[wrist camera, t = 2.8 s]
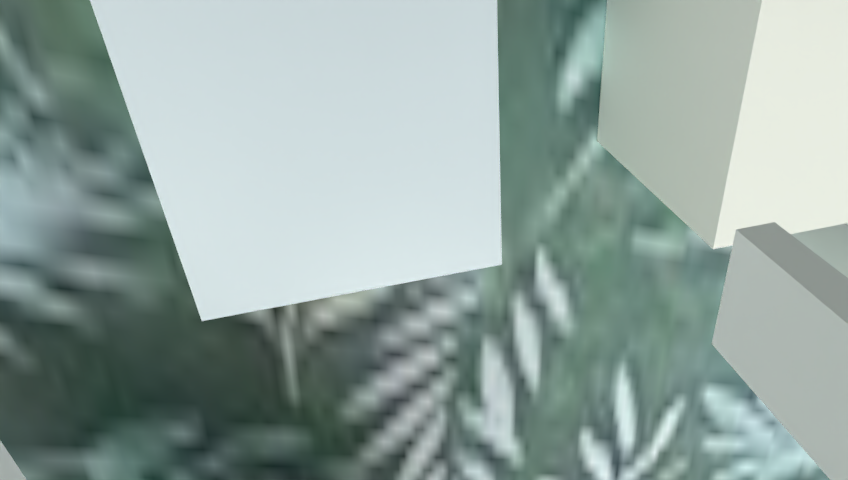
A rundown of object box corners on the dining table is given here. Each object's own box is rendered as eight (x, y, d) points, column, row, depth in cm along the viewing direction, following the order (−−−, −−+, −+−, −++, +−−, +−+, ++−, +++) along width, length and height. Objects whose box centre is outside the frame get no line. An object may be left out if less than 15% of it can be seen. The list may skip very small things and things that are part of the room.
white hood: (597, 140, 32) (713, 249, 24) (612, -84, 26) (771, -47, 18) (780, 110, 33) (952, 202, 25) (832, -111, 28) (1074, -87, 19)
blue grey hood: (220, 181, 29) (201, 321, 21) (151, -61, 24) (88, -4, 15) (437, 146, 30) (501, 264, 22) (419, -92, 25) (495, -54, 17)
